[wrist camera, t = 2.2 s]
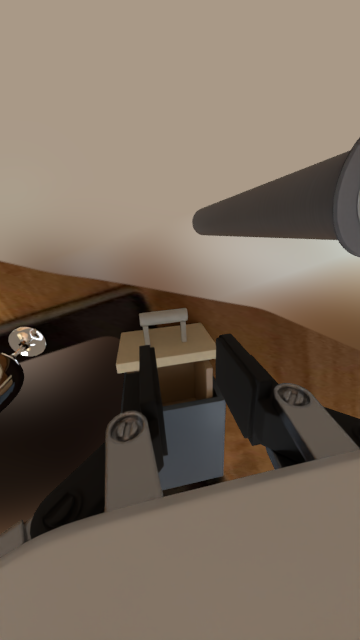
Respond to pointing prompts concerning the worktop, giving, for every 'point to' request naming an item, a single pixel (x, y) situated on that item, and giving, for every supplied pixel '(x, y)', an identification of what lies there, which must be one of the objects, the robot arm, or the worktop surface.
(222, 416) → the cabinet
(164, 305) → the worktop surface
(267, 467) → the worktop surface
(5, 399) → the wineglass
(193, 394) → the drawer
